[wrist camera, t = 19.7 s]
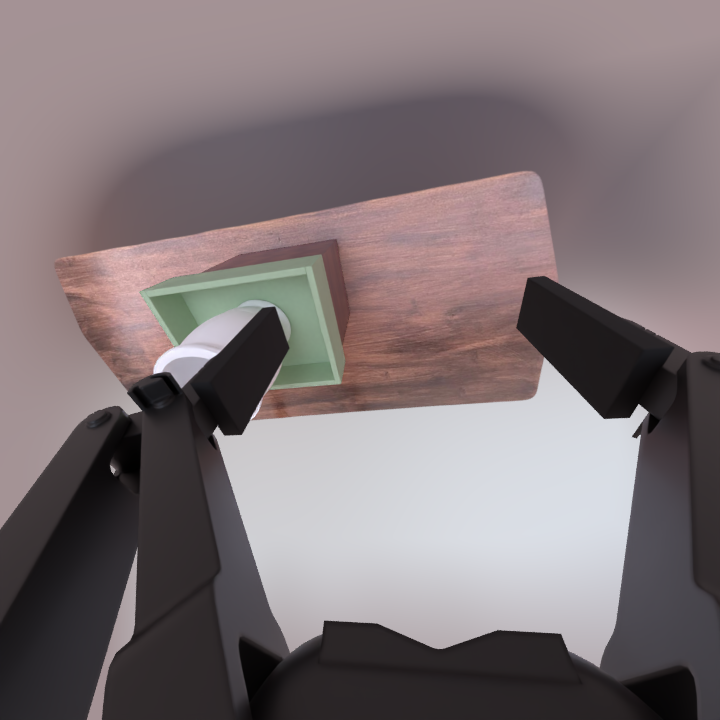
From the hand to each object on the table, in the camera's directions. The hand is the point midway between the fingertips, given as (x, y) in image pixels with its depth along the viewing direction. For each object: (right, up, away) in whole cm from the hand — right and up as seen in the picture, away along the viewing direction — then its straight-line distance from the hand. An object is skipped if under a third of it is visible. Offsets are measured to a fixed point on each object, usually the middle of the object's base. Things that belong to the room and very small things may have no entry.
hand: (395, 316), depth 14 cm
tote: (-16, +3, +25) cm, 30 cm away
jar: (-16, +3, +24) cm, 29 cm away
